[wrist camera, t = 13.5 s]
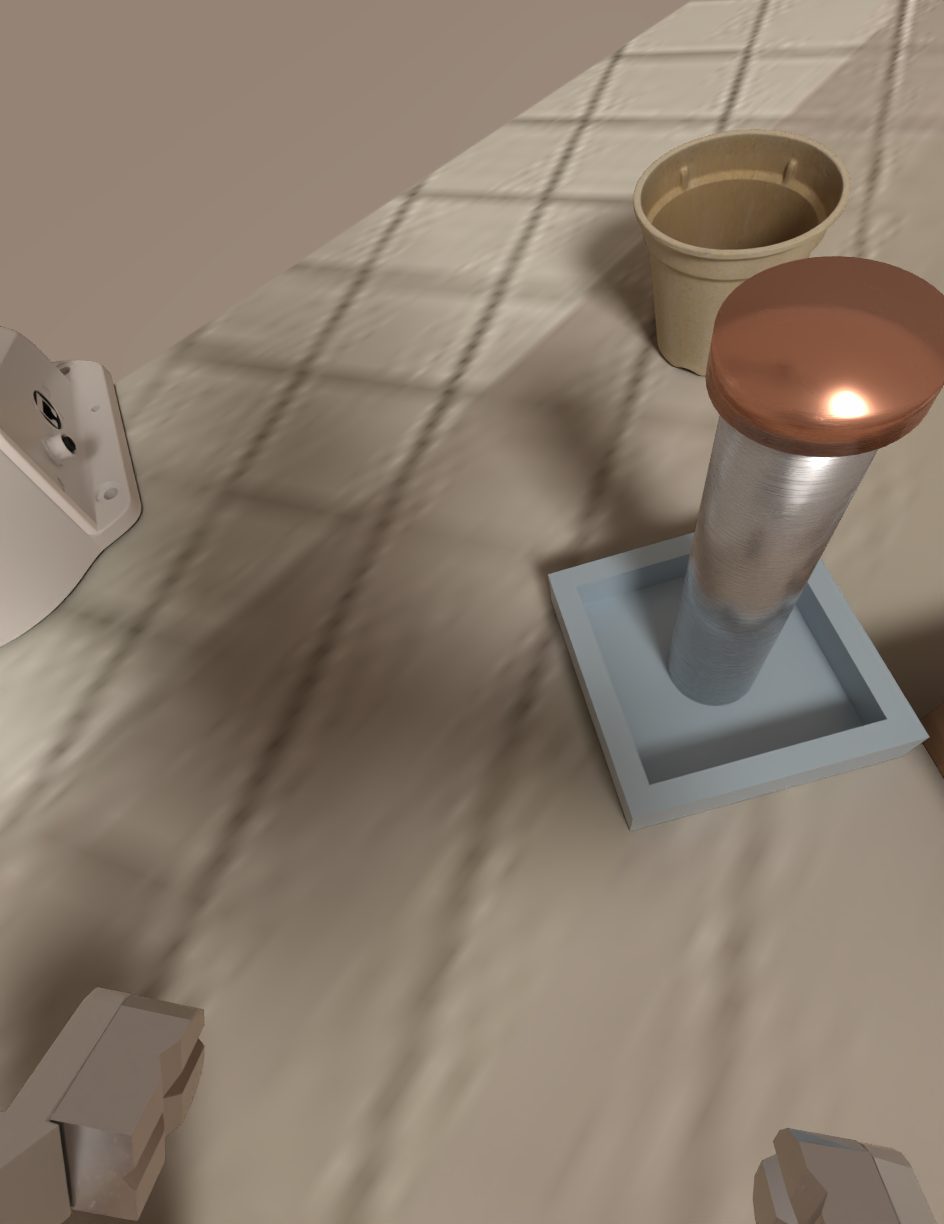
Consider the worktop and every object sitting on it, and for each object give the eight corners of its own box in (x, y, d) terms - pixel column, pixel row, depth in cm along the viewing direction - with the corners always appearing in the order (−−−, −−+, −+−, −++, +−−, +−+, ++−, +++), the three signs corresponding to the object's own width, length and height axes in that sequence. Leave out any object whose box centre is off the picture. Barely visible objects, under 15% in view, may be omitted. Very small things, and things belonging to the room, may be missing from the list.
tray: (551, 601, 32) (548, 574, 30) (775, 536, 31) (788, 504, 29) (629, 831, 26) (632, 818, 24) (902, 756, 26) (929, 737, 24)
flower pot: (703, 428, 35) (731, 282, 28) (594, 338, 40) (593, 192, 32) (839, 343, 36) (901, 180, 29) (718, 265, 41) (745, 107, 33)
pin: (639, 634, 30) (679, 294, 15) (740, 606, 29) (884, 232, 15) (678, 730, 27) (772, 443, 12) (788, 699, 27) (1016, 371, 12)
